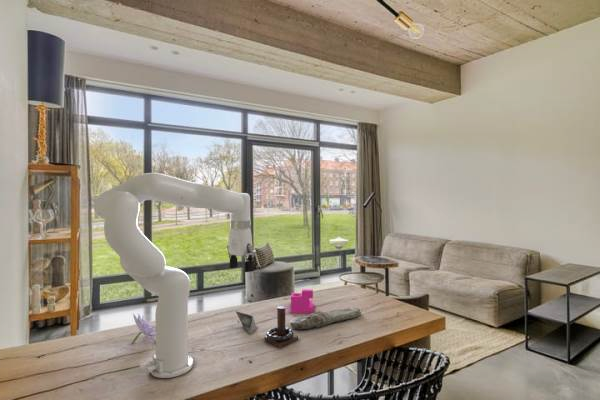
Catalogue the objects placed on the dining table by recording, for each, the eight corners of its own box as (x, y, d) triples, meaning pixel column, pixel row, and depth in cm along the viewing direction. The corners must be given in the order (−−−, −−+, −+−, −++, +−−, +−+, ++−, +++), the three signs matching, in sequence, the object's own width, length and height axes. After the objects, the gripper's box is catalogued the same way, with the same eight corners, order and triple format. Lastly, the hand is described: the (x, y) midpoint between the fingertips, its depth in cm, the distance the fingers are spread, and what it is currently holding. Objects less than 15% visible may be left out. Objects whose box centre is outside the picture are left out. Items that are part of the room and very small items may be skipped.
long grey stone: (366, 320, 142) (352, 314, 151) (366, 308, 142) (352, 303, 151) (297, 332, 126) (286, 325, 134) (297, 319, 126) (286, 312, 135)
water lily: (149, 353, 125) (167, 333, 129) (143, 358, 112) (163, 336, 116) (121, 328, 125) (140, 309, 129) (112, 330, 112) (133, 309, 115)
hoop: (278, 344, 114) (278, 340, 114) (260, 336, 121) (260, 331, 121) (298, 335, 121) (298, 331, 121) (280, 328, 128) (280, 324, 128)
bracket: (313, 313, 149) (312, 291, 148) (290, 313, 149) (290, 291, 149) (312, 304, 161) (312, 283, 160) (291, 304, 161) (291, 283, 161)
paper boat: (265, 326, 131) (250, 327, 124) (256, 337, 132) (241, 340, 124) (249, 305, 138) (234, 305, 131) (241, 316, 139) (226, 317, 131)
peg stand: (280, 348, 114) (280, 313, 114) (264, 340, 121) (264, 307, 120) (298, 340, 121) (298, 307, 121) (282, 333, 127) (281, 301, 127)
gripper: (219, 224, 126) (220, 267, 126) (246, 227, 114) (246, 275, 114) (235, 223, 131) (236, 264, 132) (262, 225, 119) (262, 271, 120)
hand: (240, 269), depth 123 cm, fingers open, 9 cm apart
